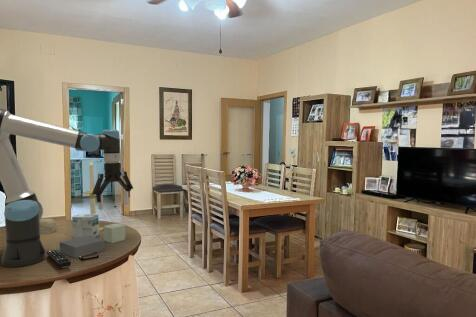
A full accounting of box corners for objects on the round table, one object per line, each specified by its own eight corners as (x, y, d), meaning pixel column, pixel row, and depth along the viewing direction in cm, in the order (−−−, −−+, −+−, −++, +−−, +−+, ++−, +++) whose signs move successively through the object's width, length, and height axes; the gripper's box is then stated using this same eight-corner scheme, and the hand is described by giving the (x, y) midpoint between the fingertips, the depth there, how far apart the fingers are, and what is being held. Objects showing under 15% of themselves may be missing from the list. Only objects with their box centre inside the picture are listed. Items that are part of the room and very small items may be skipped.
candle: (93, 233, 181) (90, 160, 179) (79, 230, 185) (76, 160, 183) (107, 228, 190) (105, 159, 188) (94, 226, 194) (91, 158, 192)
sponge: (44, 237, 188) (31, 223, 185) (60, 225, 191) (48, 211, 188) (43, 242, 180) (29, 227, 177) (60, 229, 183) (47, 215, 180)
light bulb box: (99, 234, 178) (99, 213, 177) (93, 238, 171) (92, 216, 170) (79, 234, 179) (78, 213, 178) (72, 238, 172) (71, 216, 172)
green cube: (112, 243, 164) (111, 228, 163) (103, 240, 168) (103, 226, 167) (125, 239, 169) (124, 225, 169) (116, 237, 173) (116, 223, 173)
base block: (75, 259, 143) (75, 247, 142) (60, 253, 151) (59, 242, 150) (104, 251, 153) (104, 239, 153) (88, 245, 161) (88, 235, 161)
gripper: (91, 164, 154) (93, 212, 155) (139, 160, 174) (140, 203, 175) (82, 164, 159) (85, 210, 160) (130, 160, 178) (131, 201, 180)
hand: (114, 206), depth 168 cm, fingers open, 13 cm apart
